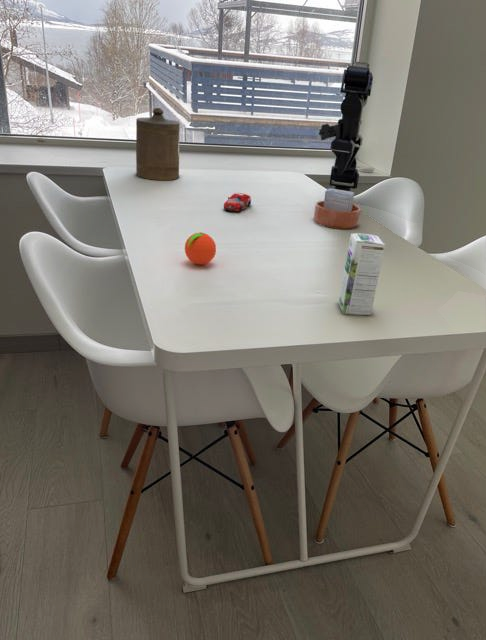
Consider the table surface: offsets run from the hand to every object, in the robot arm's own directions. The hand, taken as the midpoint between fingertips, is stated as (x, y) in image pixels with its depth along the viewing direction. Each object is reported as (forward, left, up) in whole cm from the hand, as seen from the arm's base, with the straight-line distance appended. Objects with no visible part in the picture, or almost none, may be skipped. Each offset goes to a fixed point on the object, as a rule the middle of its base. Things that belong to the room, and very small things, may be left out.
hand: (342, 173), depth 174 cm
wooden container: (-15, -68, -13) cm, 71 cm away
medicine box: (+8, +1, -13) cm, 15 cm away
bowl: (+8, +1, -13) cm, 15 cm away
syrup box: (+72, +18, -13) cm, 75 cm away
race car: (+10, -29, -13) cm, 33 cm away
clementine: (+64, -19, -13) cm, 68 cm away
